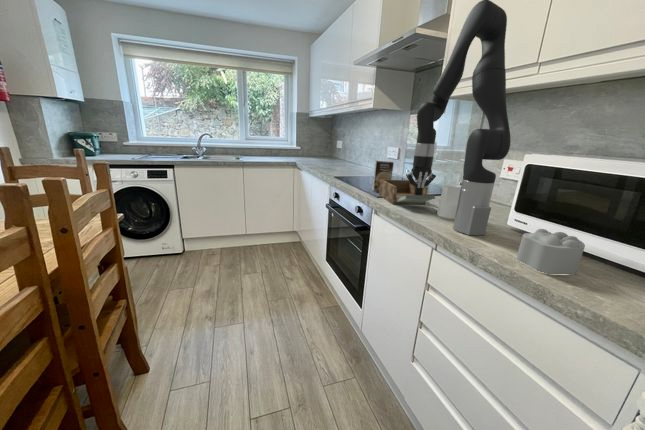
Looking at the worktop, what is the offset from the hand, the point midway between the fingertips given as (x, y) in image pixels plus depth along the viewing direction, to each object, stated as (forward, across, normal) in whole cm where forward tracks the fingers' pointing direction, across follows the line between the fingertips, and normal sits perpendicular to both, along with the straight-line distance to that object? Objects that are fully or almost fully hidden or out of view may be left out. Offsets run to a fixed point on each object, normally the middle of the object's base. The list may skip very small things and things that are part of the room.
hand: (417, 196), depth 118 cm
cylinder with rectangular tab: (+6, -9, +11) cm, 15 cm away
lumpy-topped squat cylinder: (+6, -10, +53) cm, 54 cm away
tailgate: (+3, 0, -6) cm, 6 cm away
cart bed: (+5, 0, -15) cm, 16 cm away
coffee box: (+6, +4, -34) cm, 35 cm away
